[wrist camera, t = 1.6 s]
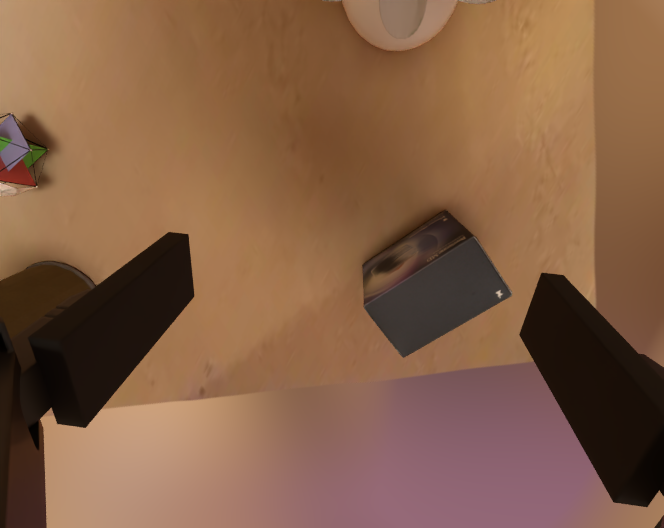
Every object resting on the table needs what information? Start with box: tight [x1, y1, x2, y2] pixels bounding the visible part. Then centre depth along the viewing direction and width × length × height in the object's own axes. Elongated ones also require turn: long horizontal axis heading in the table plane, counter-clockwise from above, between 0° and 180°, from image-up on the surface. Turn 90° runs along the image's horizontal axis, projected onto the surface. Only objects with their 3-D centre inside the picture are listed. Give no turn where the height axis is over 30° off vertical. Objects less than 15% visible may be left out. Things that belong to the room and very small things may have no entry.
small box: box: [363, 210, 512, 358], centre depth 36 cm, size 11×6×10 cm, turn 127°
